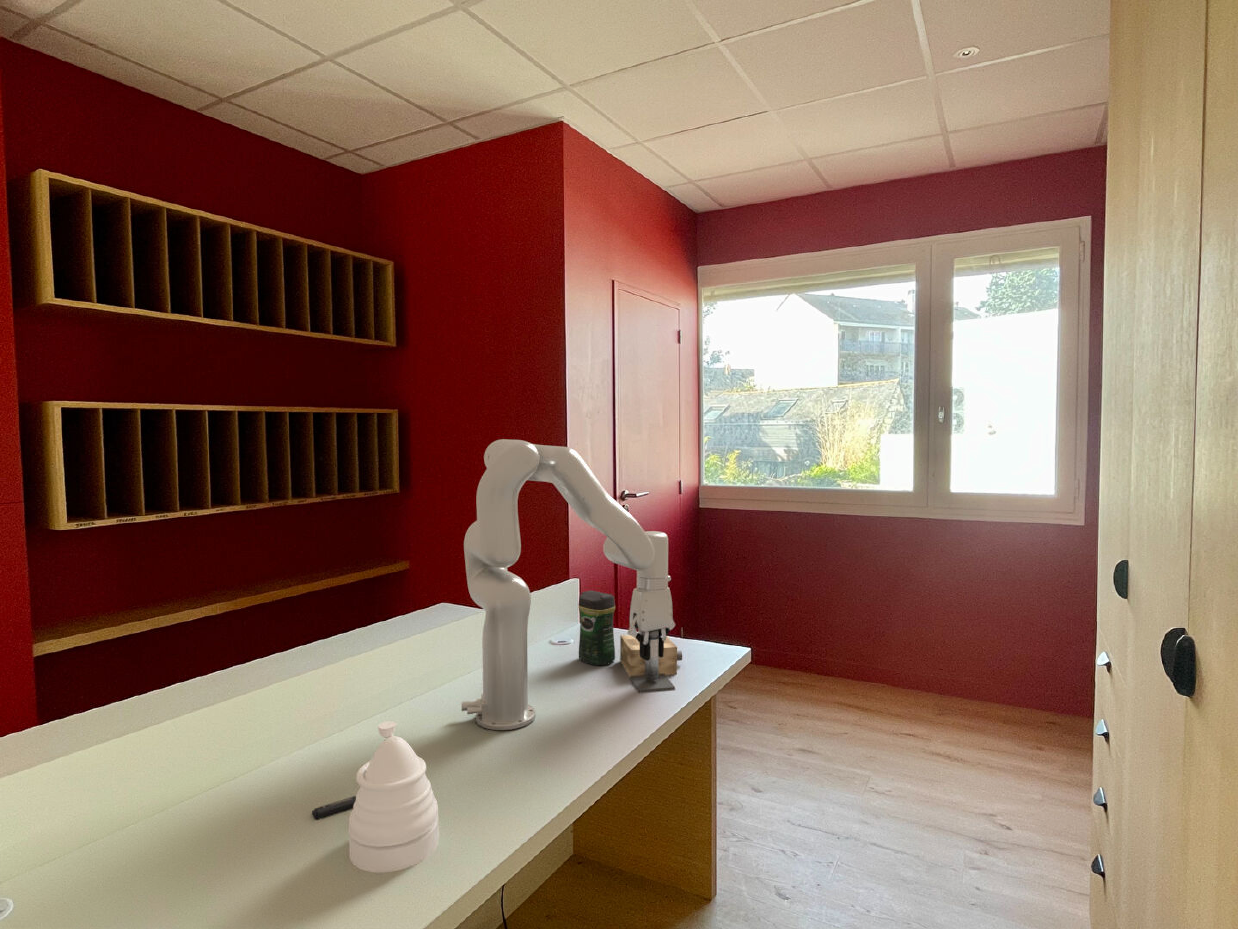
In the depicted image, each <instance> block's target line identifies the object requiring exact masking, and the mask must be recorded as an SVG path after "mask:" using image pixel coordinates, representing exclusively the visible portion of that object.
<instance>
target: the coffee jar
mask: <svg viewBox="0 0 1238 929" xmlns="http://www.w3.org/2000/svg"><path fill="white" fill-rule="evenodd" d="M615 610H616V603H615V596H614V595H613V594H609V593H605V592H600V591H595V590H591V589H590V590H587V591H583V592H581V593H580V595H579V596H578V611H579V617H580V618H579V619H580V623H579V625H580V627H579V628H580V629H579V642H578V659H579V660H580V661H582V662H584V663H587V664H591V665H594V666H600V665H608V664H609V665H610V664H612V662H614V661H615V660H616V650H615V648H616V647H615V638H614V613H615Z"/></svg>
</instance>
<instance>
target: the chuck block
mask: <svg viewBox="0 0 1238 929" xmlns="http://www.w3.org/2000/svg"><path fill="white" fill-rule="evenodd" d="M619 639H620V640H619V641H620V642H619V643H620V645H619V646H620V647H619V649H620V650H619V652H620V653H619V654H620V655H619V656H620V658H619V662H620V664H621V665H622V664H623V665H622V666H623V668H624V669H625V671H626V670H627V671H626V673H627V675H629V677H630V676H639V675H645V659H643V658H641V657H640V642H638V640H637V639H636V638H635V637H633V636H631V635H629V634H624V635H623V634H622V635H620V637H619ZM678 661H683V653H682V650H678V646H677V645H676V644H675V643H674V642H673V641H672V640H671V639H670V638H669V637H668V635H667V636H666V640H665V641H664V652H663V657H659V674H665V675H666V676H670V674H671V675H677V674H678Z"/></svg>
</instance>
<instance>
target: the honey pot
mask: <svg viewBox="0 0 1238 929" xmlns="http://www.w3.org/2000/svg"><path fill="white" fill-rule="evenodd" d="M396 726H397V723H396V722H395V721H392V720H390V721H384V722H381V723H379V724H378V725H377V730H378V734H379V735H380V736H381V737H382V738H385V740H383V741H382V742H381V744H380V745H379V746H378V747H377V749H376V750H375V752H374V753H373V755H372V758H371V760H369V761H367V762H366V763H364V764H362V766H361V767H360V768H359V769H358V770H357V773H356V776H355V777H356V782H357V784H358V785H359V786H360V788H358V789H357V790H358V791H357V792H356V795H355V796H356V801H355V803H354V806H353V809H351V812H350V815H349V818H348V838H349V839H348V842H349V843H348V846H349V859H350V861H351V863H352V864H353V865H354V866H355V867H357V868H358V869H359V870H363V871H366V872H368V873H376V874H377V873H378V874H379V873H380V874H381V873H393V872H396V871H402V870H405V869H407V868H411V867H412V866H416V865H417V864H418V863H420V862H422V861H424V860H425V859H427V858H428V857H429V856H430V855H431V854H432V853H434V851H435V850H436V848H437V847H438V845H439V844H438V843H439V840H440V834H439V833H440V832H439V830H440V827H439V826H440V824H439V806H438V801H437V798H436V797H435V795H434V792H433V789H432V786H431V781H430V780H429V779H428V777H427V774H426V771H427V764H426V761H425V760H424V759H423V758H422V757H420V756H418V755H417V754H416V752H415V751H414V750H413V747H412V746H411V745H410V744H409V743H408V742H407V741H406V740H405V739H403V738H402V737H400V736H395V735H394V733H395V731H396V728H397V727H396Z"/></svg>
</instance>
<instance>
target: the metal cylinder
mask: <svg viewBox="0 0 1238 929" xmlns="http://www.w3.org/2000/svg"><path fill="white" fill-rule="evenodd" d="M648 644H649V645H650V659H649V660H648V661H646V660H645V679H647V680H657V679H658V678H659V630H654V631H649V636H648Z"/></svg>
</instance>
